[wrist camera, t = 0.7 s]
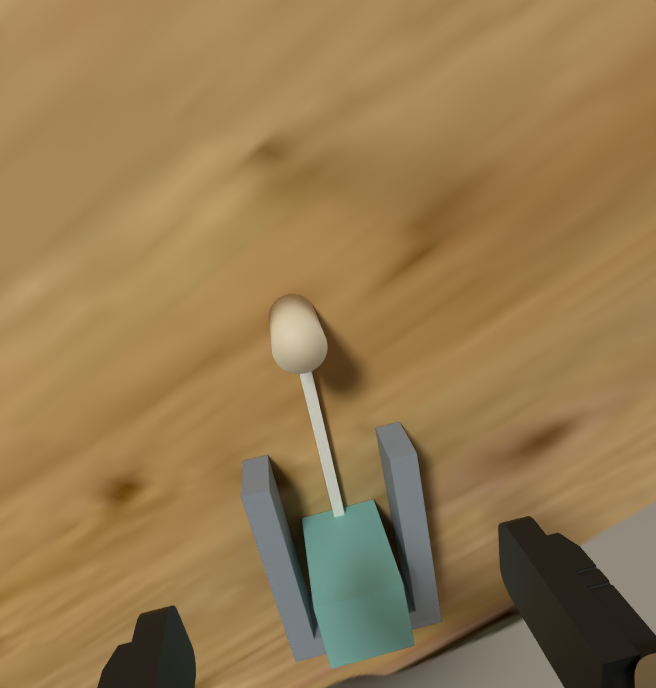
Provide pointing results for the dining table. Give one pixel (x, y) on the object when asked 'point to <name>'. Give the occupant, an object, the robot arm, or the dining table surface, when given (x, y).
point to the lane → (283, 558)
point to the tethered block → (341, 523)
